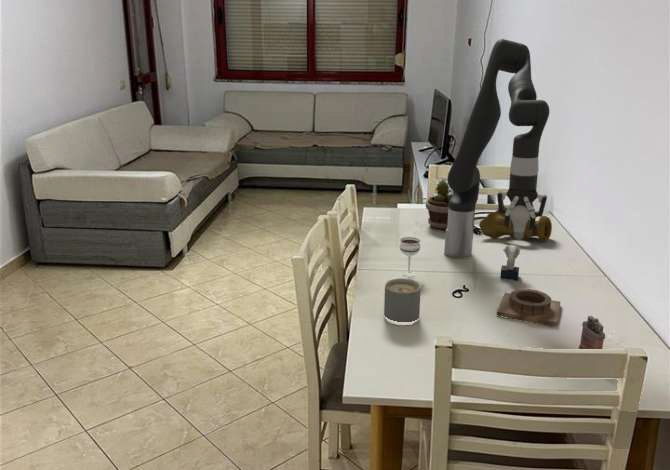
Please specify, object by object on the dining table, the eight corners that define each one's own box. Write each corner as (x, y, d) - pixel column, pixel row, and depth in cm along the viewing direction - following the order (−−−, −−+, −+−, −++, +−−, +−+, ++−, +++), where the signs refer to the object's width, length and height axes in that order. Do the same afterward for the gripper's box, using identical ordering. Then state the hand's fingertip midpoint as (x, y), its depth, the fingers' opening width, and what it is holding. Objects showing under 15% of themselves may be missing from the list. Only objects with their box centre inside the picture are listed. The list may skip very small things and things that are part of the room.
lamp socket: (496, 316, 169) (497, 302, 167) (504, 296, 181) (505, 283, 179) (555, 327, 163) (557, 312, 161) (559, 306, 175) (561, 292, 173)
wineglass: (423, 274, 198) (424, 240, 194) (410, 280, 193) (412, 245, 189) (406, 268, 202) (407, 235, 198) (394, 274, 197) (395, 240, 193)
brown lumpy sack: (575, 347, 153) (580, 312, 149) (588, 346, 153) (593, 311, 150) (590, 364, 145) (596, 327, 142) (604, 363, 145) (610, 327, 142)
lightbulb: (530, 243, 171) (533, 206, 167) (508, 242, 172) (511, 206, 169) (527, 236, 177) (530, 201, 173) (506, 235, 178) (509, 200, 174)
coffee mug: (418, 327, 163) (420, 294, 160) (382, 324, 164) (383, 291, 161) (419, 305, 175) (421, 274, 172) (386, 303, 177) (387, 272, 174)
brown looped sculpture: (500, 208, 244) (554, 209, 230) (498, 239, 244) (551, 242, 230) (480, 203, 230) (536, 204, 216) (478, 237, 229) (533, 240, 215)
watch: (518, 273, 198) (522, 242, 194) (517, 283, 191) (520, 251, 187) (501, 271, 200) (504, 240, 196) (499, 280, 192) (502, 249, 189)
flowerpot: (464, 232, 237) (468, 184, 230) (426, 232, 237) (428, 184, 230) (458, 221, 251) (461, 175, 244) (421, 221, 251) (424, 175, 244)
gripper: (496, 173, 167) (492, 229, 173) (549, 176, 162) (544, 234, 167) (499, 167, 174) (496, 222, 179) (551, 170, 168) (546, 227, 174)
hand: (519, 228), depth 173 cm, fingers closed on lightbulb, 5 cm apart
